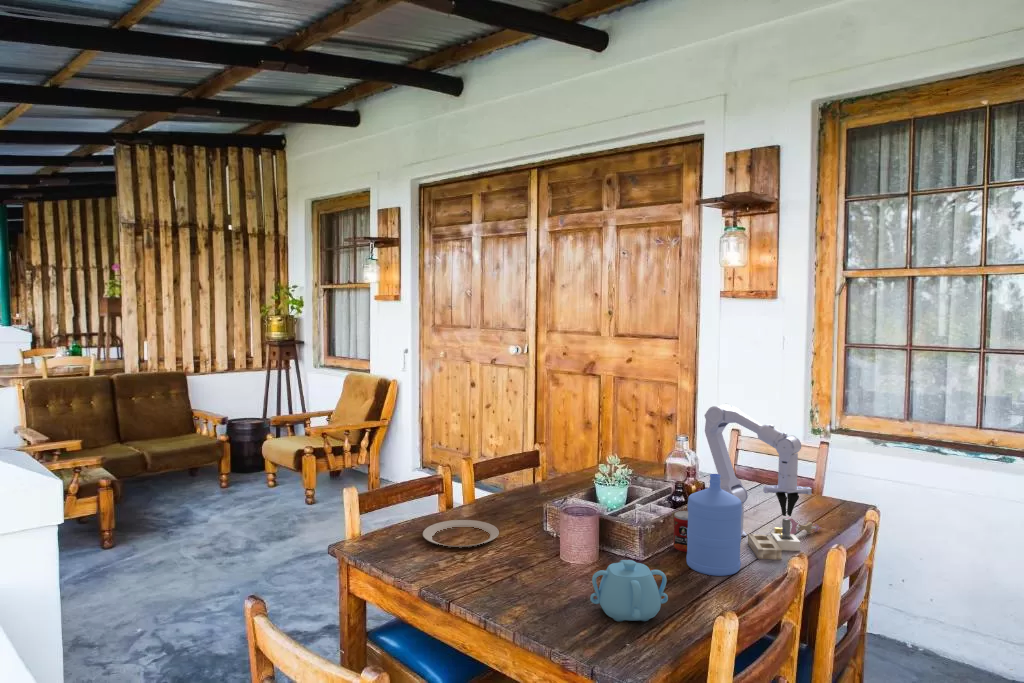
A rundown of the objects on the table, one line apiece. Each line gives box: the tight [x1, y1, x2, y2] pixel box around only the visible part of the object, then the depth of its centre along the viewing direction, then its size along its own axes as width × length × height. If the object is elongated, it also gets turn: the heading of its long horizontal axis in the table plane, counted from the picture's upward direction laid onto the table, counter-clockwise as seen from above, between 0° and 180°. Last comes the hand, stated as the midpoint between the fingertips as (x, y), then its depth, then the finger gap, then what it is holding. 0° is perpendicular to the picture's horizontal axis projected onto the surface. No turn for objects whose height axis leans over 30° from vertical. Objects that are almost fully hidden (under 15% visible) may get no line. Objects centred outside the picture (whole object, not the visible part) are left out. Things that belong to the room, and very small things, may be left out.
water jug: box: [686, 473, 742, 577], centre depth 208 cm, size 16×16×28 cm
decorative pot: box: [589, 559, 669, 622], centre depth 178 cm, size 16×16×14 cm
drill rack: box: [747, 533, 783, 561], centre depth 222 cm, size 7×14×3 cm, turn 174°
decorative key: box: [786, 517, 822, 535], centre depth 236 cm, size 7×1×20 cm
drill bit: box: [781, 517, 791, 540], centre depth 225 cm, size 2×2×9 cm
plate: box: [422, 519, 500, 549], centre depth 233 cm, size 26×26×2 cm
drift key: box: [773, 526, 782, 538], centre depth 231 cm, size 3×6×3 cm, turn 174°
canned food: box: [673, 510, 688, 553], centre depth 224 cm, size 8×8×11 cm
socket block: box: [770, 531, 801, 552], centre depth 230 cm, size 7×16×3 cm, turn 174°
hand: (786, 515), depth 225 cm, fingers closed
